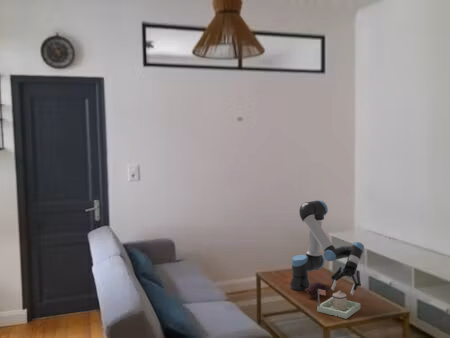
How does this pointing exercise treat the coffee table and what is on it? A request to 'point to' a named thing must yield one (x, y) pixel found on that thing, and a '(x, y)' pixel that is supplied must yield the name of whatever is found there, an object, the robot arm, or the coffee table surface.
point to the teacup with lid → (339, 301)
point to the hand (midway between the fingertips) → (341, 291)
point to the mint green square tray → (328, 309)
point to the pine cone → (316, 289)
